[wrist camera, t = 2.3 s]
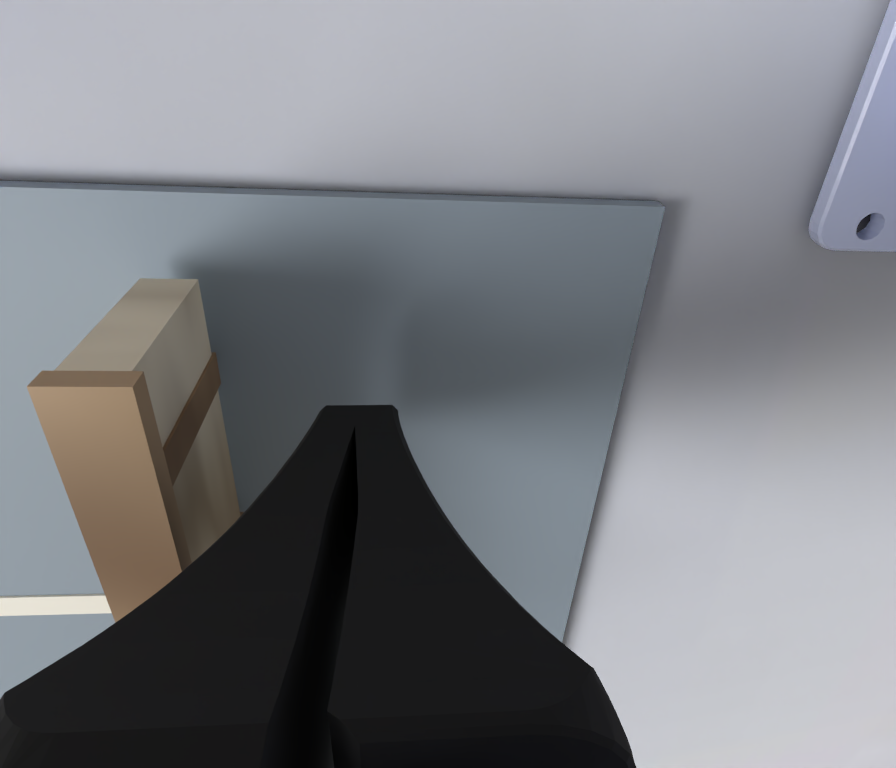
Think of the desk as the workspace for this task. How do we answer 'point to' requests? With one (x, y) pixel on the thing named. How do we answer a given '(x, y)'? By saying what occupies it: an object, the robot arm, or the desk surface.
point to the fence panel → (142, 439)
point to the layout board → (333, 359)
